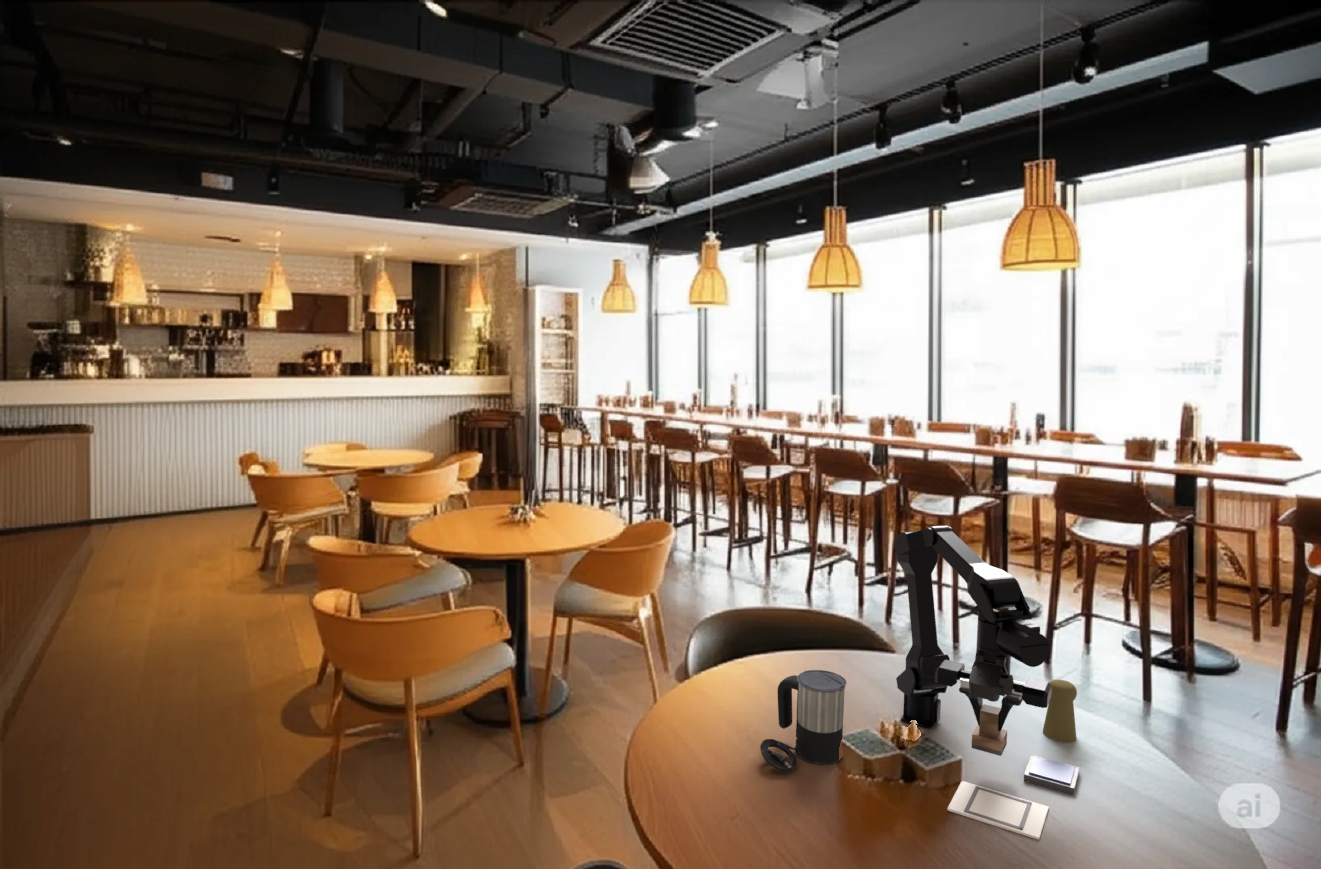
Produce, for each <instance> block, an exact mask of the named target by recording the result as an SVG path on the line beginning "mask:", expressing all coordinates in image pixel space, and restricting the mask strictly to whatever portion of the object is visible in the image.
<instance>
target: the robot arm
mask: <svg viewBox="0 0 1321 869" xmlns="http://www.w3.org/2000/svg"><path fill="white" fill-rule="evenodd" d="M893 542H894V543H893V547H894V551H895V554H896V555H895V556H896V559H897V560H896V561H897V563H898V564H899V566H900V568H902V570H903V571H904V573H905V575H906V583H907V596H908V607H909V609H908V610H909V619H910V620H909V621H910V631H911V642H912V643H911V644H912V645H911V646H910V649H909V650H908V653H907V654H906V656H905V669H904V670H903V671H902V672H901V673H900V674H899V675H898V676H897V677H895V678H896V679H895V680H896V688H897V689H898V690H899V691H900V692H902V693H903V711H902V712H903V713H902V715H901V716H900V721H902V722H904V723H908V722H910V721H911V720H916V721H917V723H918V724H919V725H921V727H924V728H928V729H933V728H934V726H935V725H936V724H937V723H938V722H939V721H940V720H941V710H942V709H941V707H942V706H941V705H942V700H941V699H940V698H939V694H945V693H946V692H947V689H948V687H953V686H955V685H957V683H958V681H960V686H959V688H958V691H959V692H960V693H961V694H964V695H965V696H966V698H968V700H969V702H970V704H971V707H972V711H973V713H974V716H975V720H976V722H977V725H979V726H980V710H981V708H982V706H983V705H984V702H983V700H988V702H998V701H1000V697H1001V696H1002V698H1001V706H1000V708H1001V712H1000V717H999V723H998V731H1001V729H1003V727H1004V725H1005V723H1006V720H1007V718H1008V715H1009V713H1010V711H1011V709H1013V707H1014V706H1021V704H1022V703H1023V702H1024V703H1025V704H1026V705H1029V706H1033V707H1037V708H1041V709H1048V704H1049V701H1050V699H1051V693H1052V686H1051V685H1050V682H1049V681H1046V680H1043V679H1038V678H1033V677H1028V676H1027V678H1026V679H1025V682H1021V681H1017V680H1014V676H1013V675H1012V674H1011V664H1012V662H1011V661H1012V660H1011V658H1013V659H1015V660H1017V661H1018V662H1020V663H1022V664H1024V665H1026V666H1028V667H1030V668H1036V667H1039V666H1041V665H1042V664H1044V662H1045V661H1047V659H1048V658H1049V655H1050V650H1051V646H1050V644H1049V641H1048V639H1047V637H1046V636H1045V635H1044V634H1041V626H1040V625H1037V624H1035V623H1031V622H1028V621H1026V620H1032V619H1033V616H1032V613H1031V611H1030V609H1031V607H1030V606H1029V604H1028V602H1027V601H1026V597H1025V596H1024V593H1023V591H1022V588H1021V586H1020V583H1019V582H1018V580H1017V579H1016V578H1015V577H1014V576H1013V575H1012V574H1009V572H1007V571H1005V570H1003V569H1001V568H999V567H995V566H992V565H990V564H988V563H987V562H986V561H984V560H983V559H982V558H981V557H980V556H979V555H978V554H977V553H976V552H975V551H974V550H973V549H971V547H970V546H968V545H967V543H965V542H964V541H963V540H962V539H961V538H960V537H959V536H957V534H956V533H955V530H954V529H953V528H952V527H951V526H949V525H933V526H932V525H930V526H927V527H926V528H923V529H920V530H915V531H902V532H900V533H899V534H898V535H897V537H896V538H895V539H894V541H893ZM939 556H940V557H941V558H942V559H943V560H944V561H945V562H946V563H947V564H948V565H949V566H950V567H951V568H952V569H953V570H954V572H956V573H957V574H958V575H959V576H960V577H961V578H962V579H963V580H964V581H965V583H966V585H967V593H968V595H969V596H970V598H971V599H972V601H973V602H974V603H975V604H976V605H975V606H974V607H972V608H970V613H971V614H974V615H975V616H976V617H977V626H976V627H977V629H976V630H977V631H976V647H975V648H976V649H975V650H976V651H975V656H974V657H975V658H974V662H973V665H972V666H971V671H970V670H969V671H968V670H966V667H965V664H964V663H963V662H959V661H955V660H951V659H950V656H949V654H947V653H946V654H945V653H944V652H943V650H942V649H941V647H940V645H939V644H938V633H937V622H936V620H937V619H936V610H935V598H934V587H933V586H934V585H933V577H932V574H933V573H934V570H935V567H936V566H937V564H938V562H939ZM1008 608H1011V609H1008ZM1012 608H1015V609H1012ZM998 609H1000V610H998ZM1001 609H1006V610H1001ZM1007 609H1008V610H1007ZM919 725H918V726H919Z"/></svg>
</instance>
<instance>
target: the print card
mask: <svg viewBox="0 0 1321 869" xmlns="http://www.w3.org/2000/svg"><path fill="white" fill-rule="evenodd" d="M1049 807H1050V806H1049V805H1048V806H1047V805H1044V804H1041V803H1037V802H1034V801H1031V800H1028V799H1024V798H1020V797H1018V796H1016V795H1015V796H1014V795H1011V794H1008V793H1004V792H1001V791H999V790H998V791H997V790H994V789H991V788H988V787H984V786H980V785H977V784H974V783H970V782H968V781H964V780H962V781H960V783H959V785H958V788H957V790H956V791H955V792H954V795H953V797H952V798H951V801H950V803H949V805H948V806H947V812H951V813H953V814H957V815H962V816H964V817H967V818H970V819H973V820H975V821H979V822H982V823H986V824H988V825H992V826H994V827H998V828H1001V829H1003V830H1007V831H1011V832H1013V833H1016V834H1020V835H1023V836H1026V837H1029V838H1032V839H1035V840H1038V841H1039V840H1040V838H1041V834H1042V831H1043V828H1044V826H1045V823H1046V818H1047V816H1048V813H1049Z"/></svg>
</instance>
